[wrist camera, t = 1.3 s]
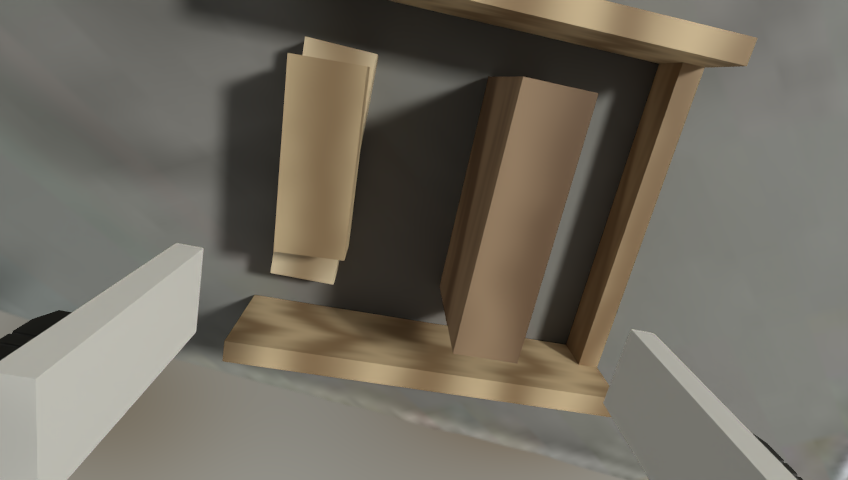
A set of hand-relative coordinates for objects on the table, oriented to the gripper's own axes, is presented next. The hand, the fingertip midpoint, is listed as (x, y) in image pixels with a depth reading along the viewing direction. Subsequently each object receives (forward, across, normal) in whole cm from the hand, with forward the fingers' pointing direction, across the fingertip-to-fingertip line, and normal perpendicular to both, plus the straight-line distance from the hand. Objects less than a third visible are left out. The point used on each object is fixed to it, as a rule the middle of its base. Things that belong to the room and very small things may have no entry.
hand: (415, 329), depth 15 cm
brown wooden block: (+22, +6, +1) cm, 23 cm away
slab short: (+19, -6, +1) cm, 20 cm away
